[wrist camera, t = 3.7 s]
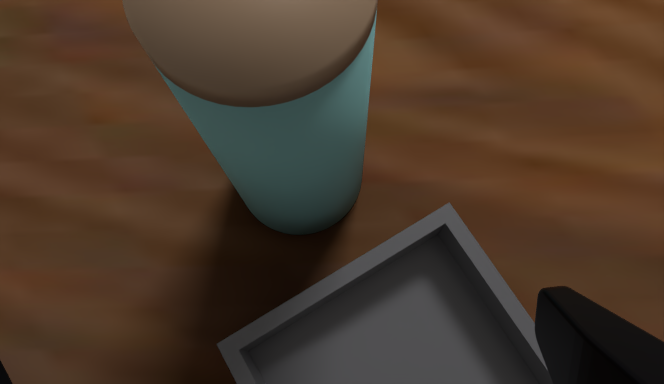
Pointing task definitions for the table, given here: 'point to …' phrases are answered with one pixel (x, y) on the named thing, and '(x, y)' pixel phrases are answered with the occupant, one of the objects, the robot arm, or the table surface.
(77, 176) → the table surface
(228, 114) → the canister
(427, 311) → the tray
